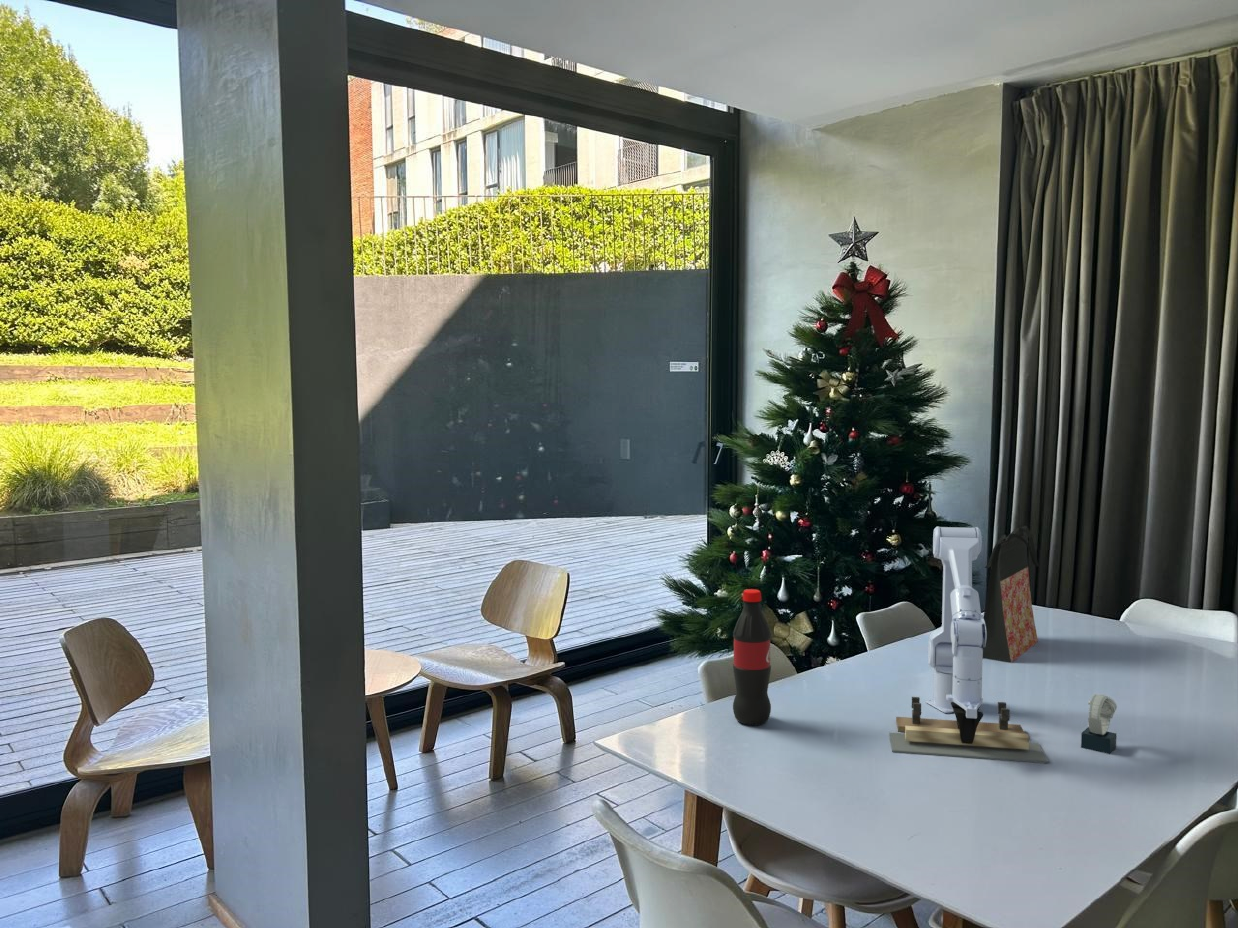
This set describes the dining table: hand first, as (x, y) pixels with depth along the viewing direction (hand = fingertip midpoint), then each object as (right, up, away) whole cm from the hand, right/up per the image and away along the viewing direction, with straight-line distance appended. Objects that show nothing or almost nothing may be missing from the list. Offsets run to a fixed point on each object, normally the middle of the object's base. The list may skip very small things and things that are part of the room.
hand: (965, 740), depth 196 cm
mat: (0, -2, 0) cm, 2 cm away
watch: (+27, -2, 0) cm, 27 cm away
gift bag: (+40, +5, +73) cm, 83 cm away
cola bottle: (-42, -1, +17) cm, 45 cm away
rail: (0, -1, 0) cm, 1 cm away
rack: (+2, -1, +10) cm, 10 cm away
